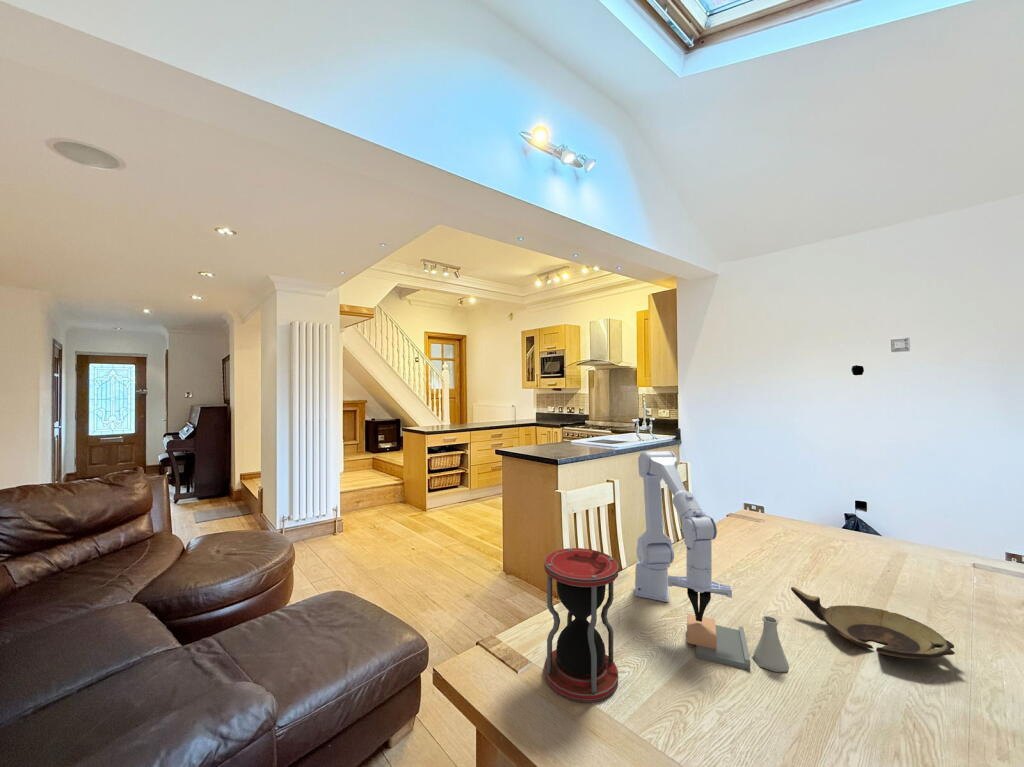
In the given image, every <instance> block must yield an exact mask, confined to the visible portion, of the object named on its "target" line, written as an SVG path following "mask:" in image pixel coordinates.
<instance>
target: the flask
mask: <svg viewBox="0 0 1024 767" xmlns="http://www.w3.org/2000/svg"><path fill="white" fill-rule="evenodd" d="M762 621H763V629H762V633H761V636H760V638H759V640H758V643H757V645H756V647H755V649H754V651H753V656H752V659H753V660H754V661H755V663H756V664H757V665H758V667H761V668H763V669H767V670H769V671H772V672H775V673H777V672H781V673H785V672H788V671H789V666H790V665H789V663H788V659H787V657H786V654H785V652H784V649H783V646H782V643H781V640H780V637H779V634H778V633H779V632H778V625H779V620H778V619H777V618H776V617H775V616H771V615H762Z"/></svg>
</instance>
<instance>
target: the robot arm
mask: <svg viewBox="0 0 1024 767" xmlns="http://www.w3.org/2000/svg"><path fill="white" fill-rule="evenodd" d="M678 462H679V461H678V458H677V455H676V454H675V453H674V451H673V450H665V451H664V450H660V451H658V450H655V451H654V450H653V451H650V450H649V451H648V450H647V451H645V450H642V451H641V452H640V454H639V456H638V459H637V463H638V465H637V466H638V475H639V477H640V478H642V480H643V496H644V511H645V512H644V516H645V532H643V533H642V534H640V535H639V536H638V538H637V546H636V557H637V559H638V561H636V564H635V572H634V574H635V575H634V578H635V579H634V587H635V592H634V596H636V597H640V598H645V599H650V600H655V601H659V602H665V603H668V602H669V598H670V588H671V587H678V588H683V589H687V590H686V591H687V592H686V594H687V597H688V599H689V601H690V603H691V606H692V608H693V612H694V615H695V617H696V621H700V622H702V618H703V617H704V614H705V611H706V608H707V606H708V605H709V604H710V601H711V598H712V594H715V595H721V596H725V597H726V598H731V599H732V598H733V589H732V586H730V585H725V584H722V583H719V582H715V581H712V550H713V548H712V540H715V539H716V538H717V534H718V529H717V525H716V522H715V520H714V518H713V517H712V516H710V515H709V514H708V513H707V512H704V511H703V510H702V508H701V506H700V505H699V503H698V501H697V499H696V497H695V495H694V494H693V493H692V492H691V491H688V490H686V488H685V485H684V483H683V480H682V478H681V476H680V474H679V471H678V465H679V464H678ZM662 480H663V481H664V484H665V485H666V486H667V488H668V489H669V490H670V492H671V494H672V495H673V497H672V500H671V501H672V504H673V507H674V508H675V510H676V512H677V514H678V516H679V518H680V520H681V523H682V524H681V532H682V534H683V542H684V545H685V546H686V576H677V575H668V573H669V571H668V570H669V568H670V567H671V564H672V563H673V562H674V559H675V551H674V547H673V543H672V542H673V541H672V539H671V538H670V537H669V536H668V535H666V534H665V533H664V523H663V505H662V488H661V481H662ZM669 587H670V588H669Z"/></svg>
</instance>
